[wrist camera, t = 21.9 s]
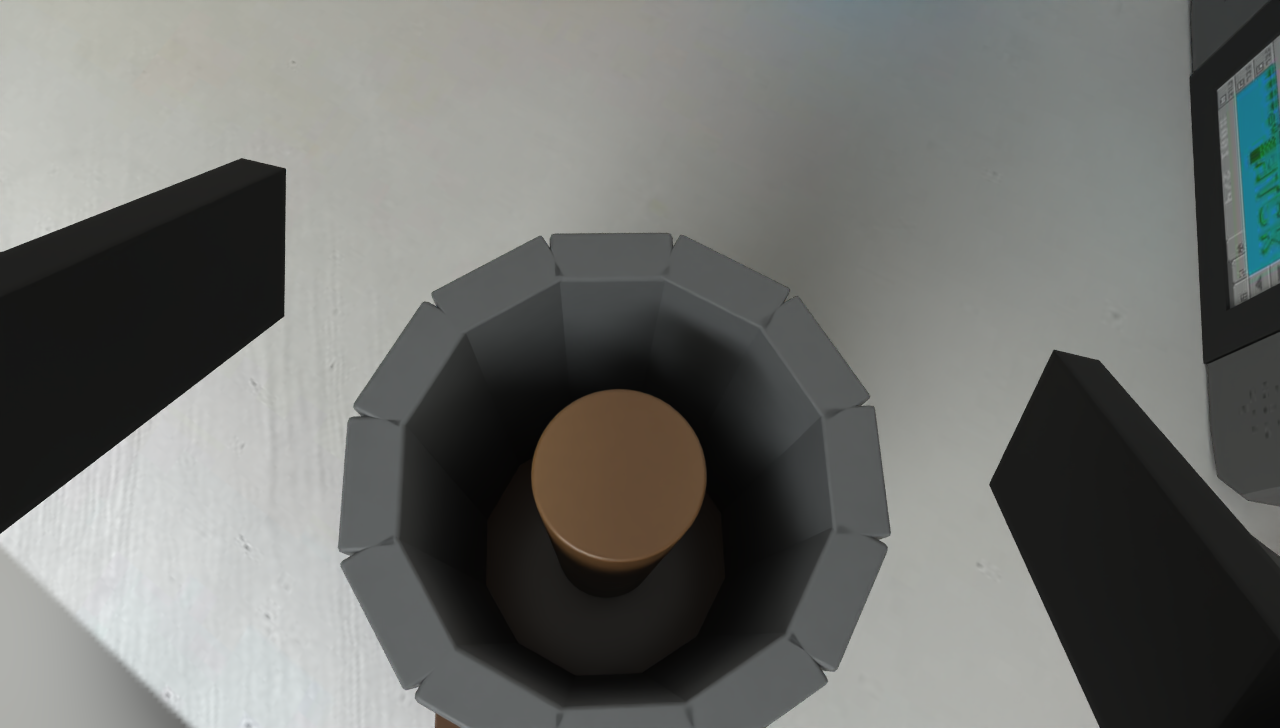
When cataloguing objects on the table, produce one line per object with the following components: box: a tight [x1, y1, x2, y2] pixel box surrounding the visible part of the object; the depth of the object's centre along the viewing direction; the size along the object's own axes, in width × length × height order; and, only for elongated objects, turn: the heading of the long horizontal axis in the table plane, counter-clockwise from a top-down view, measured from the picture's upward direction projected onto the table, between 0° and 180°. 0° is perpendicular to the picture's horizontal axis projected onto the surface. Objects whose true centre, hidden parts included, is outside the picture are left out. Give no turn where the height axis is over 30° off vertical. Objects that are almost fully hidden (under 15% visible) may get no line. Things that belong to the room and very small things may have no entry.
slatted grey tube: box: [338, 233, 891, 728], centre depth 20 cm, size 9×9×12 cm
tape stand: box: [435, 389, 725, 728], centre depth 21 cm, size 10×10×14 cm
